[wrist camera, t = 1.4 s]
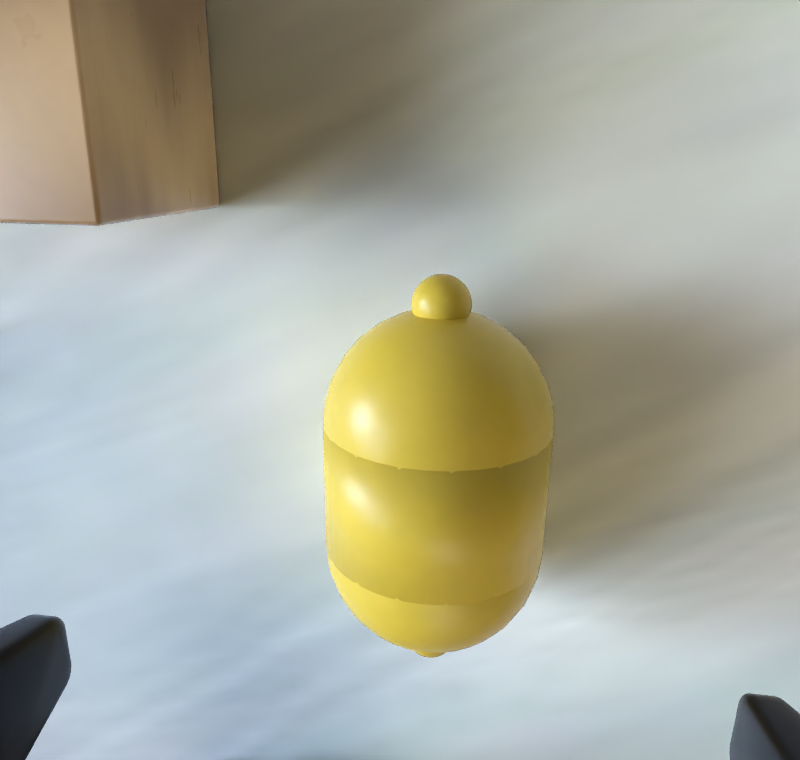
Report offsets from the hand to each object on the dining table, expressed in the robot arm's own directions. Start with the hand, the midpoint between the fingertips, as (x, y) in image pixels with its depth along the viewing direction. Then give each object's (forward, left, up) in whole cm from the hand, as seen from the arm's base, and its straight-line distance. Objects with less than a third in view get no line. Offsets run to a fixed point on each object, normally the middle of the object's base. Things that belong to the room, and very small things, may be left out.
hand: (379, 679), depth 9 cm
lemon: (0, 0, -9) cm, 9 cm away
